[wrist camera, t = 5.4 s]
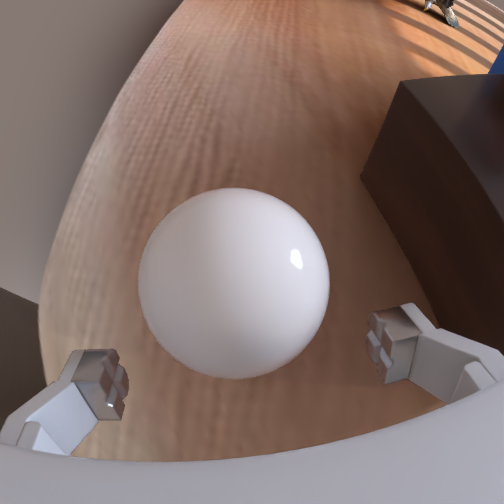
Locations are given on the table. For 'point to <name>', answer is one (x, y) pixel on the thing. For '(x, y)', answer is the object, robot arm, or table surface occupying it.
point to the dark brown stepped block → (448, 196)
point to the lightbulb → (233, 283)
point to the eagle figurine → (444, 10)
